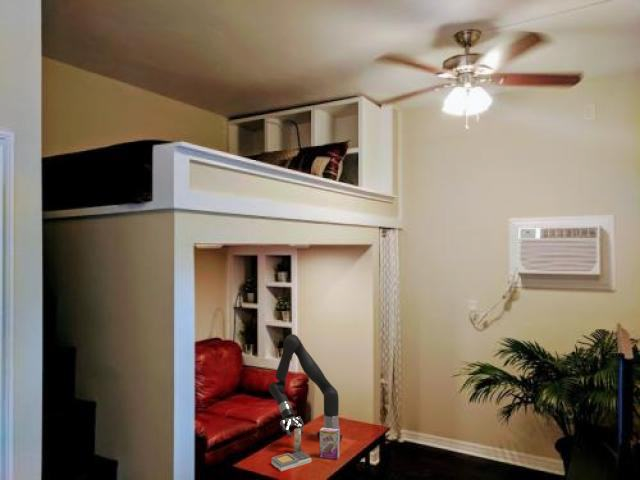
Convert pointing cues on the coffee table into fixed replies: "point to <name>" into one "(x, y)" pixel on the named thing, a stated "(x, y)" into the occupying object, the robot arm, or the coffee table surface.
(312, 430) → the coffee table surface
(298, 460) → the keyboard
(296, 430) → the beige rounded cylinder
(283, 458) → the amber key
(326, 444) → the candy bar box
